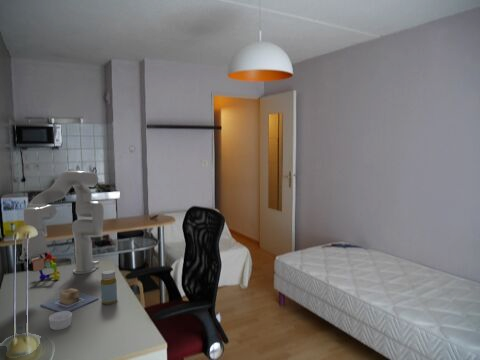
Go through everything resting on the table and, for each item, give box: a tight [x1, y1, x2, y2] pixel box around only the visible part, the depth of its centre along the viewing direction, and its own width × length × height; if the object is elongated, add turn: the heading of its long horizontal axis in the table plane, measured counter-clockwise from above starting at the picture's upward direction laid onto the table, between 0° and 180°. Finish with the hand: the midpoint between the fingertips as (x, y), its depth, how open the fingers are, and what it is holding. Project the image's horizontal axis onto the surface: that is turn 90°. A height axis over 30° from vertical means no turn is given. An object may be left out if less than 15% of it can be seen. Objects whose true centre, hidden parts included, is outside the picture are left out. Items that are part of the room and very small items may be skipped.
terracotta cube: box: [32, 257, 46, 273], centre depth 176 cm, size 5×5×5 cm
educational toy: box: [38, 253, 60, 281], centre depth 203 cm, size 16×13×15 cm
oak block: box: [59, 287, 80, 305], centre depth 173 cm, size 6×6×5 cm
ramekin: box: [48, 311, 73, 331], centre depth 150 cm, size 9×9×4 cm
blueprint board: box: [40, 292, 99, 313], centre depth 173 cm, size 18×18×1 cm
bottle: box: [100, 269, 118, 305], centre depth 173 cm, size 7×7×15 cm
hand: (36, 268), depth 176 cm, fingers closed on terracotta cube, 5 cm apart
